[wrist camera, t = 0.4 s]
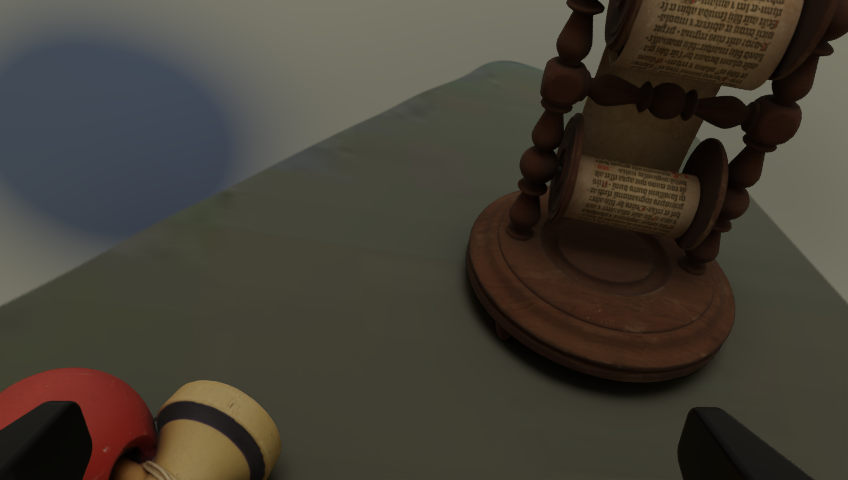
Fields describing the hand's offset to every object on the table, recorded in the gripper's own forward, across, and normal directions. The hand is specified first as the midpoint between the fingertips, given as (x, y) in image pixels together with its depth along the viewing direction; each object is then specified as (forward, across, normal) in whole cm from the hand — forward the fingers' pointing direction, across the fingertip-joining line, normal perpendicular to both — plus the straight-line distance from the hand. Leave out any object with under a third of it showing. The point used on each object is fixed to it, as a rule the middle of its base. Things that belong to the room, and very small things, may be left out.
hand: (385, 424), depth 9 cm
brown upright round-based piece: (+23, -10, +13) cm, 28 cm away
